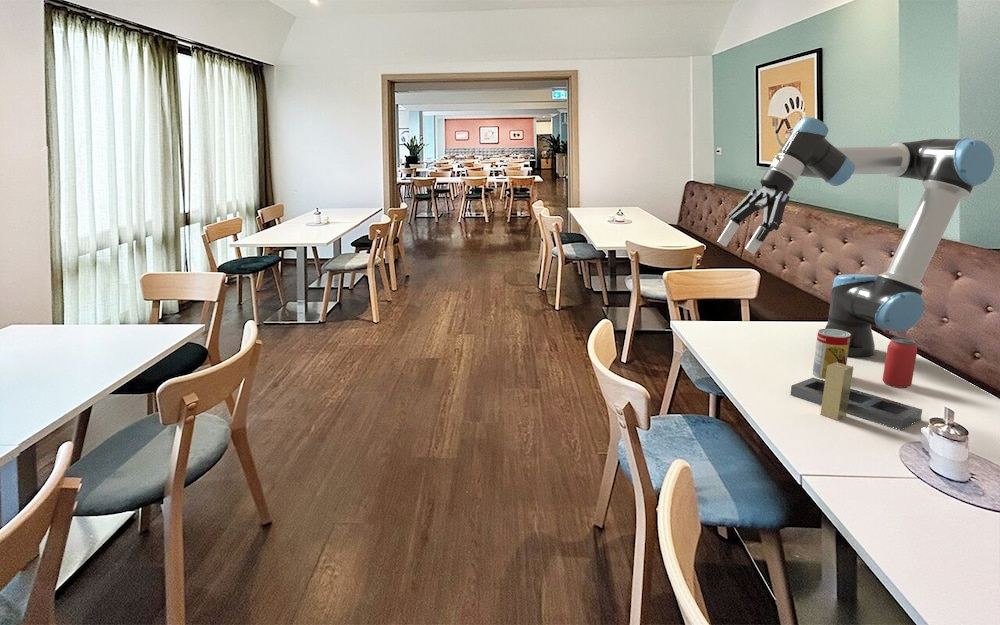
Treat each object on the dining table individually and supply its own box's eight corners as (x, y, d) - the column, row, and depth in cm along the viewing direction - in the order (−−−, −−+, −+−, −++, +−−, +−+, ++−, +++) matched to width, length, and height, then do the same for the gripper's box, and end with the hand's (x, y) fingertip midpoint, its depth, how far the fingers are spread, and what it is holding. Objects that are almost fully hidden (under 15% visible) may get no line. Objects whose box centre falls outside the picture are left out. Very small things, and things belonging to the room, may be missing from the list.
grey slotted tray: (811, 386, 175) (812, 377, 175) (920, 419, 155) (922, 409, 155) (790, 394, 170) (791, 385, 169) (900, 430, 149) (902, 419, 149)
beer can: (910, 390, 173) (918, 345, 170) (881, 385, 177) (888, 341, 174) (911, 382, 179) (918, 339, 176) (882, 378, 182) (889, 335, 179)
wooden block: (829, 410, 160) (836, 362, 157) (846, 416, 157) (853, 366, 154) (820, 414, 158) (827, 365, 155) (837, 420, 154) (844, 370, 151)
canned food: (851, 379, 181) (857, 336, 178) (825, 381, 179) (831, 337, 176) (831, 369, 188) (837, 327, 185) (806, 371, 187) (811, 329, 184)
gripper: (744, 166, 183) (700, 234, 186) (801, 169, 160) (751, 247, 162) (764, 181, 186) (721, 248, 188) (823, 186, 162) (773, 262, 164)
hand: (734, 247), depth 175 cm, fingers open, 13 cm apart
